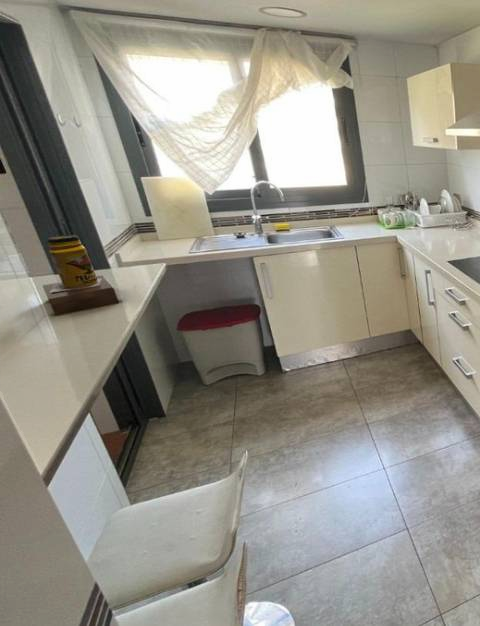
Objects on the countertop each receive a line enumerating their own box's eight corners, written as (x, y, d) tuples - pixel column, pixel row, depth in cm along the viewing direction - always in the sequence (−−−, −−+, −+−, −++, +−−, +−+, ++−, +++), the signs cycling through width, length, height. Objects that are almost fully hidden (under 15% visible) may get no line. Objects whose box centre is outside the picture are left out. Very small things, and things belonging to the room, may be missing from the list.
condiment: (99, 286, 111) (80, 237, 107) (49, 293, 106) (27, 242, 102) (102, 279, 116) (83, 232, 112) (54, 286, 111) (34, 237, 107)
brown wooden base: (55, 315, 104) (47, 299, 102) (48, 300, 114) (42, 285, 112) (119, 302, 112) (113, 287, 110) (108, 289, 121) (102, 275, 120)
